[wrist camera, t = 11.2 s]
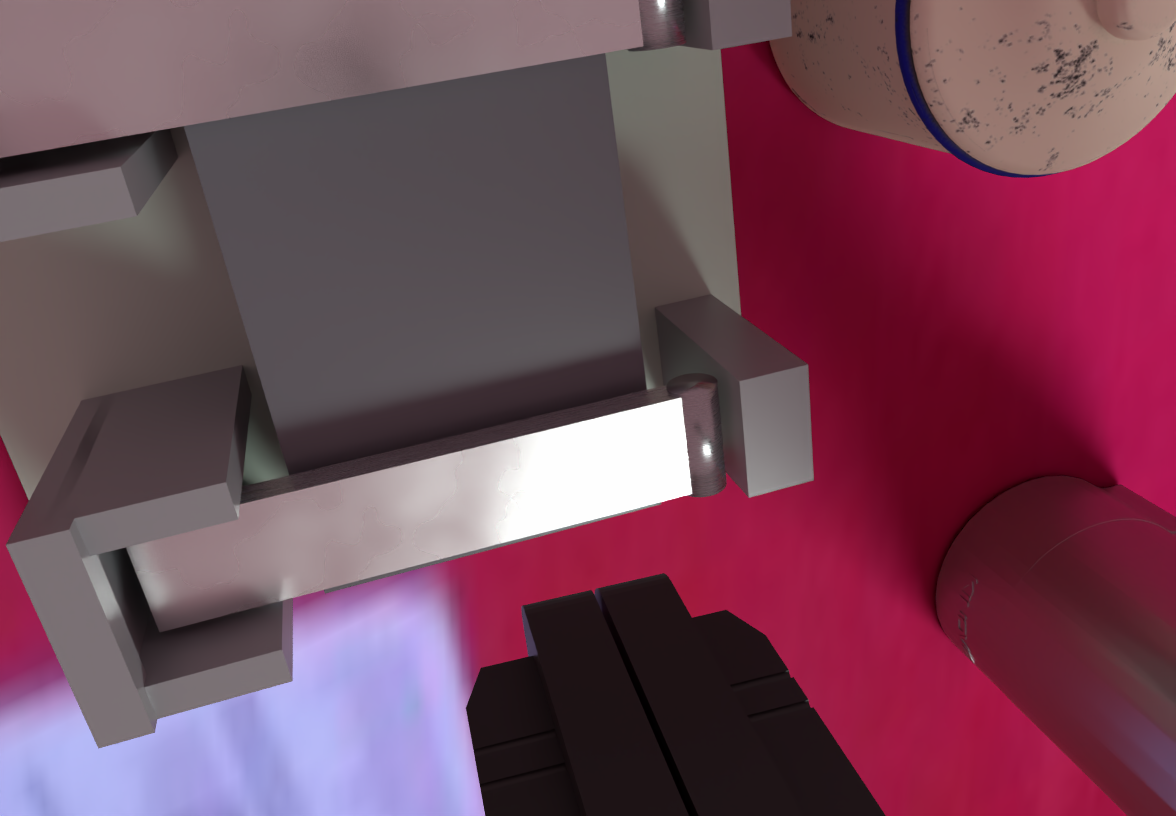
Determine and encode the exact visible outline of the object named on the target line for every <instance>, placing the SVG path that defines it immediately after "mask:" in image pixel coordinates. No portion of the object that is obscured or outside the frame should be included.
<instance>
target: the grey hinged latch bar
mask: <svg viewBox="0 0 1176 816" xmlns="http://www.w3.org/2000/svg"><path fill="white" fill-rule="evenodd" d="M726 484H727V483H726V472H725V461H724V450H723V439H722V428H721V417H720V406H719V395H718V384H717V379H716V378H715V377H714V376H712V375H709V374H704V373H690V374H684V375H680V376H677V377H675V378H673V379H671V380H670V381H668V383H667V384H666V385H665V386H660V387H656V388H652V389H648V390H644V391H639V392H635V393H631V394H627V395H623V396H619V397H614V398H610V399H606V400H602V401H598V402H593V403H589V404H585V405H581V406H577V407H573V408H568V409H564V410H560V411H556V412H552V413H547V414H543V415H539V416H535V417H531V418H526V419H522V420H518V421H514V422H510V423H506V424H501V425H497V426H493V427H489V428H485V429H480V430H476V431H472V432H468V433H464V434H460V435H455V436H451V437H447V438H443V439H439V440H434V441H430V442H426V443H422V444H418V445H414V446H409V447H405V448H401V449H397V450H393V451H388V452H384V453H380V454H376V455H372V456H368V457H363V458H359V459H355V460H351V461H347V462H342V463H338V464H334V465H330V466H326V467H321V468H317V469H313V470H309V471H305V472H301V473H296V474H292V475H288V476H284V477H280V478H275V479H271V480H267V481H263V482H259V483H255V484H250V485H246V486H242V490H241V500H240V509H239V518H238V520H234V521H230V522H226V523H222V524H218V525H214V526H210V527H206V528H202V529H198V530H194V531H190V532H186V533H182V534H178V535H174V536H170V537H166V538H162V539H158V540H153V541H149V542H145V543H141V544H137V545H133V546H129V547H126V549H127V551H128V554H129V556H130V559H131V562H132V564H133V567H134V569H135V572H136V574H137V577H138V579H139V582H140V584H141V587H142V589H143V592H144V594H145V597H146V599H147V602H148V604H149V607H150V610H151V612H152V615H153V617H154V620H155V622H156V625H157V627H158V630H159V632H164V631H167V630H171V629H175V628H179V627H183V626H187V625H190V624H194V623H198V622H202V621H206V620H210V619H213V618H217V617H221V616H225V615H229V614H233V613H236V612H240V611H244V610H248V609H252V608H256V607H259V606H263V605H267V604H271V603H275V602H279V601H282V600H286V599H290V598H294V597H298V596H301V595H305V594H309V593H313V592H317V591H321V590H324V589H328V588H332V587H336V586H340V585H344V584H347V583H351V582H355V581H359V580H363V579H367V578H370V577H374V576H378V575H382V574H386V573H390V572H393V571H397V570H401V569H405V568H409V567H413V566H416V565H420V564H424V563H428V562H432V561H436V560H439V559H443V558H447V557H451V556H455V555H459V554H462V553H466V552H470V551H474V550H478V549H481V548H485V547H489V546H493V545H497V544H501V543H504V542H508V541H512V540H516V539H520V538H524V537H527V536H531V535H535V534H539V533H543V532H547V531H550V530H554V529H558V528H562V527H566V526H570V525H573V524H577V523H581V522H585V521H589V520H593V519H596V518H600V517H604V516H608V515H612V514H616V513H619V512H623V511H627V510H631V509H635V508H639V507H642V506H646V505H650V504H654V503H658V502H661V501H665V500H669V499H673V498H677V497H681V496H684V495H687V496H692V497H706V496H711V495H714V494H717V493H719V492H721V491H722V490H723V489H724V488H725V487H726Z"/></svg>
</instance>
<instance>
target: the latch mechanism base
mask: <svg viewBox="0 0 1176 816" xmlns="http://www.w3.org/2000/svg"><path fill="white" fill-rule="evenodd" d="M683 10H684V21H685V32H686V43H685V44H682V45H678V46H674V47H668V48H663V49H656V50H647V51H628V50H627V49H625V50H619V51H614V52H608V53H602V54H596V55H590V56H585V57H579V58H573V59H567V60H562V61H556V62H550V63H544V64H539V65H533V66H527V67H521V68H515V69H510V70H504V71H498V72H492V73H487V74H481V75H475V76H469V77H464V78H458V79H452V80H446V81H441V82H435V83H429V84H423V85H417V86H412V87H406V88H400V89H394V90H389V91H383V92H377V93H371V94H366V95H360V96H354V97H348V98H343V99H337V100H331V101H325V102H319V103H314V104H308V105H302V106H296V107H291V108H285V109H279V110H273V111H268V112H262V113H256V114H250V115H245V116H239V117H233V118H227V119H221V120H216V121H210V122H204V123H198V124H193V125H187V126H181V127H175V128H170V129H164V130H158V131H152V132H146V133H141V134H135V135H129V136H123V137H118V138H112V139H106V140H100V141H95V142H89V143H83V144H77V145H72V146H66V147H60V148H54V149H48V150H43V151H37V152H31V153H25V154H20V155H14V156H8V157H2V158H0V435H1V437H2V440H3V442H4V444H5V447H6V449H7V451H8V453H9V456H10V458H11V460H12V463H13V465H14V467H15V470H16V472H17V474H18V476H19V479H20V481H21V483H22V486H23V488H24V490H25V493H26V495H27V497H28V499H29V502H28V504H27V506H26V507H25V509H24V511H23V513H22V515H21V517H20V519H19V521H18V523H17V525H16V527H15V528H14V530H13V532H12V534H11V536H10V538H9V540H8V542H7V544H6V546H7V549H8V551H9V553H10V555H11V557H12V560H13V562H14V564H15V566H16V568H17V571H18V573H19V575H20V577H21V579H22V581H23V584H24V586H25V588H26V590H27V592H28V595H29V597H30V599H31V601H32V603H33V606H34V608H35V610H36V612H37V614H38V617H39V619H40V621H41V623H42V625H43V628H44V630H45V632H46V634H47V636H48V639H49V641H50V643H51V645H52V647H53V650H54V652H55V654H56V656H57V658H58V660H59V663H60V665H61V667H62V669H63V671H64V674H65V676H66V678H67V680H68V682H69V685H70V687H71V689H72V691H73V693H74V696H75V698H76V700H77V702H78V704H79V707H80V709H81V711H82V713H83V715H84V718H85V720H86V722H87V724H88V726H89V729H90V731H91V733H92V735H93V737H94V740H95V742H96V744H97V746H98V748H102V747H105V746H109V745H112V744H116V743H119V742H123V741H126V740H130V739H133V738H137V737H140V736H144V735H148V734H151V733H155V728H156V723H157V719H159V718H163V717H166V716H170V715H173V714H177V713H180V712H184V711H188V710H191V709H195V708H198V707H202V706H205V705H209V704H213V703H216V702H220V701H223V700H227V699H230V698H234V697H237V696H241V695H245V694H248V693H252V692H255V691H259V690H262V689H266V688H270V687H273V686H277V685H280V684H284V683H287V682H291V681H292V671H293V598H290V599H286V600H282V601H279V602H275V603H271V604H267V605H263V606H259V607H256V608H252V609H248V610H244V611H240V612H236V613H233V614H229V615H225V616H221V617H217V618H213V619H210V620H206V621H202V622H198V623H194V624H190V625H187V626H183V627H179V628H175V629H171V630H167V631H164V632H159V630H158V627H157V625H156V622H155V620H154V617H153V615H152V612H151V610H150V607H149V604H148V602H147V599H146V597H145V594H144V592H143V589H142V587H141V584H140V582H139V579H138V577H137V574H136V572H135V569H134V567H133V564H132V562H131V559H130V556H129V554H128V551H127V549H126V547H129V546H133V545H137V544H141V543H145V542H149V541H153V540H158V539H162V538H166V537H170V536H174V535H178V534H182V533H186V532H190V531H194V530H198V529H202V528H206V527H210V526H214V525H218V524H222V523H226V522H230V521H234V520H238V518H239V509H240V500H241V490H242V486H246V485H250V484H255V483H259V482H263V481H267V480H271V479H275V478H280V477H284V476H288V475H292V474H296V473H301V472H305V471H309V470H313V469H317V468H321V467H326V466H330V465H334V464H338V463H342V462H347V461H351V460H355V459H359V458H363V457H368V456H372V455H376V454H380V453H384V452H388V451H393V450H397V449H401V448H405V447H409V446H414V445H418V444H422V443H426V442H430V441H434V440H439V439H443V438H447V437H451V436H455V435H460V434H464V433H468V432H472V431H476V430H480V429H485V428H489V427H493V426H497V425H501V424H506V423H510V422H514V421H518V420H522V419H526V418H531V417H535V416H539V415H543V414H547V413H552V412H556V411H560V410H564V409H568V408H573V407H577V406H581V405H585V404H589V403H593V402H598V401H602V400H606V399H610V398H614V397H619V396H623V395H627V394H631V393H635V392H639V391H644V390H648V389H652V388H656V387H660V386H665V385H666V384H667V383H668V381H670V380H671V379H673V378H675V377H677V376H680V375H684V374H690V373H704V374H709V375H712V376H714V377H715V378H716V379H717V384H718V395H719V406H720V417H721V428H722V439H723V450H724V461H725V472H726V473H727V474H728V475H729V476H730V477H731V478H732V479H733V481H734V482H735V483H736V484H737V485H738V486H739V487H740V488H741V489H742V491H743V492H744V493H745V494H746V495H747V496H748V497H753V496H757V495H761V494H764V493H768V492H772V491H775V490H779V489H783V488H787V487H790V486H794V485H798V484H801V483H805V482H809V481H813V480H814V476H813V455H812V434H811V414H810V393H809V373H808V364H807V363H805V362H804V361H803V360H801V359H800V358H798V357H797V356H796V355H794V354H793V353H792V352H790V351H789V350H787V349H786V348H785V347H783V346H782V345H781V344H779V343H778V342H776V341H775V340H774V339H772V338H771V337H769V336H768V335H767V334H765V333H764V332H763V331H761V330H760V329H758V328H757V327H756V326H754V325H753V324H752V323H750V322H749V321H747V320H746V319H745V318H743V317H742V316H741V308H740V295H739V282H738V269H737V256H736V243H735V231H734V218H733V205H732V192H731V179H730V166H729V153H728V140H727V127H726V115H725V102H724V89H723V76H722V63H721V50H720V49H723V48H729V47H735V46H740V45H746V44H752V43H757V42H763V41H769V40H774V39H780V38H785V37H791V36H792V22H791V2H790V0H683ZM660 504H661V502H658V503H654V504H650V505H646V506H642V507H639V508H635V509H631V510H627V511H623V512H619V513H616V514H612V515H608V516H604V517H600V518H596V519H593V520H589V521H585V522H581V523H577V524H573V525H570V526H566V527H562V528H558V529H554V530H550V531H547V532H543V533H539V534H535V535H531V536H527V537H524V538H520V539H516V540H512V541H508V542H504V543H501V544H497V545H493V546H489V547H485V548H481V549H478V550H474V551H470V552H466V553H462V554H459V555H455V556H451V557H447V558H443V559H439V560H436V561H432V562H428V563H424V564H420V565H416V566H413V567H409V568H405V569H401V570H397V571H393V572H390V573H386V574H382V575H378V576H374V577H370V578H367V579H363V580H359V581H355V582H351V583H347V584H344V585H340V586H336V587H332V588H328V589H324V592H325V593H329V592H332V591H336V590H340V589H344V588H347V587H351V586H355V585H359V584H363V583H366V582H370V581H374V580H378V579H381V578H385V577H389V576H393V575H396V574H400V573H404V572H408V571H411V570H415V569H419V568H423V567H426V566H430V565H434V564H438V563H442V562H445V561H449V560H453V559H457V558H460V557H464V556H468V555H472V554H475V553H479V552H483V551H487V550H490V549H494V548H498V547H502V546H505V545H509V544H513V543H517V542H521V541H524V540H528V539H532V538H536V537H539V536H543V535H547V534H551V533H554V532H558V531H562V530H566V529H569V528H573V527H577V526H581V525H584V524H588V523H592V522H596V521H600V520H603V519H607V518H611V517H615V516H618V515H622V514H626V513H630V512H633V511H637V510H641V509H645V508H648V507H652V506H656V505H660Z"/></svg>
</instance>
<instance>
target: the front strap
mask: <svg viewBox="0 0 1176 816" xmlns="http://www.w3.org/2000/svg"><path fill="white" fill-rule="evenodd" d="M685 43H686V32H685V21H684V10H683V0H0V158H2V157H8V156H14V155H20V154H25V153H31V152H37V151H43V150H48V149H54V148H60V147H66V146H72V145H77V144H83V143H89V142H95V141H100V140H106V139H112V138H118V137H123V136H129V135H135V134H141V133H146V132H152V131H158V130H164V129H170V128H175V127H181V126H187V125H193V124H198V123H204V122H210V121H216V120H221V119H227V118H233V117H239V116H245V115H250V114H256V113H262V112H268V111H273V110H279V109H285V108H291V107H296V106H302V105H308V104H314V103H319V102H325V101H331V100H337V99H343V98H348V97H354V96H360V95H366V94H371V93H377V92H383V91H389V90H394V89H400V88H406V87H412V86H417V85H423V84H429V83H435V82H441V81H446V80H452V79H458V78H464V77H469V76H475V75H481V74H487V73H492V72H498V71H504V70H510V69H515V68H521V67H527V66H533V65H539V64H544V63H550V62H556V61H562V60H567V59H573V58H579V57H585V56H590V55H596V54H602V53H608V52H614V51H619V50H625V49H627V50H628V51H647V50H656V49H663V48H668V47H674V46H678V45H682V44H685Z"/></svg>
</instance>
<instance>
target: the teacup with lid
mask: <svg viewBox="0 0 1176 816" xmlns="http://www.w3.org/2000/svg"><path fill="white" fill-rule="evenodd" d="M790 2H791V22H792V36H791V37H785V38H780V39H774V40H769V42H770V46H771V49H772V52H773V55H774V58H775V61H776V63H777V66H778V68H779V70H780V72H781V74H782V76H783V78H784V79H785V81H786V83H787V84H788V86H789V87H790V88H791V90H792V91H793V93H794V94H795V95H796V96H797V97H798V98H799V99H800V100H801V102H803V103H804V104H805V105H806V106H807V107H808V108H809V109H810V110H812V111H813V112H815V113H816V114H817V115H819V116H820V117H822V118H824V119H826V120H828V121H829V122H832V123H834V124H836V125H839V126H842V127H845V128H849V129H853V130H857V131H861V132H865V133H869V134H873V135H877V136H881V137H885V138H889V139H893V140H898V141H902V142H906V143H910V144H914V145H918V146H922V147H926V148H930V149H934V150H938V151H942V152H947V153H951V154H953V155H954V156H956V157H957V158H958V159H960V160H962V161H963V162H965V163H967V164H969V165H970V166H973V167H975V168H977V169H980V170H982V171H985V172H989V173H992V174H996V175H1000V176H1007V177H1023V178H1029V177H1040V176H1046V175H1051V174H1056V173H1059V172H1063V171H1068V170H1071V169H1074V168H1077V167H1080V166H1083V165H1085V164H1088V163H1090V162H1092V161H1095V160H1097V159H1098V158H1100V157H1102V156H1104V155H1106V154H1108V153H1109V152H1111V151H1113V150H1114V149H1116V148H1117V147H1119V146H1120V145H1122V144H1123V143H1125V142H1126V141H1128V140H1129V139H1130V138H1132V137H1133V136H1134V135H1136V134H1137V133H1138V132H1139V131H1141V130H1142V129H1143V128H1144V127H1145V126H1146V125H1147V124H1148V123H1149V122H1150V121H1151V120H1152V119H1153V118H1154V117H1155V116H1156V115H1157V114H1158V113H1159V112H1160V111H1161V110H1162V109H1163V108H1164V107H1165V105H1166V104H1167V103H1168V102H1169V100H1170V99H1171V98H1172V97H1173V95H1174V94H1175V93H1176V0H790Z"/></svg>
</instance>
